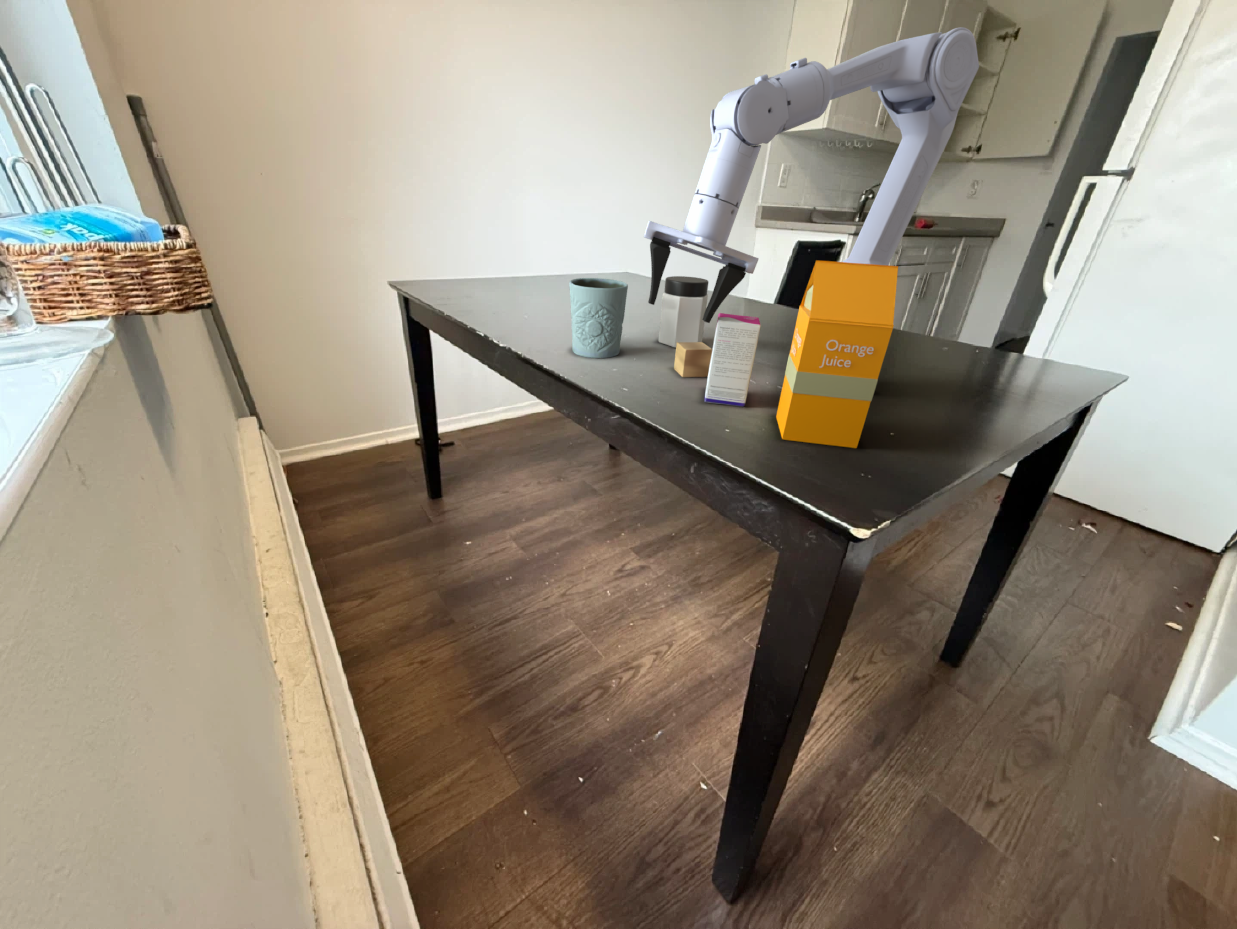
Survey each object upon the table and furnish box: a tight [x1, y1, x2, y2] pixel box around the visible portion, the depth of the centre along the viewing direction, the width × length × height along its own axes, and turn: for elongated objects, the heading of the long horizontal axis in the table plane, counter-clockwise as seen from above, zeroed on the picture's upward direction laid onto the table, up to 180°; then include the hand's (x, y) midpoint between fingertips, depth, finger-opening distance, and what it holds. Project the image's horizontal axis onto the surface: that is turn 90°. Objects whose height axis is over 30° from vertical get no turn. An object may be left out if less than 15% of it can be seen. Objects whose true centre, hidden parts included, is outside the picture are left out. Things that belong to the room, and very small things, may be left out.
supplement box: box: [704, 312, 762, 407], centre depth 71 cm, size 6×6×12 cm
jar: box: [658, 275, 709, 349], centre depth 98 cm, size 9×8×12 cm
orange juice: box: [775, 259, 899, 449], centre depth 60 cm, size 8×9×20 cm
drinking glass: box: [568, 277, 629, 359], centre depth 89 cm, size 10×10×12 cm
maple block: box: [673, 341, 713, 378], centre depth 83 cm, size 4×4×4 cm
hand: (678, 312), depth 67 cm, fingers open, 7 cm apart
